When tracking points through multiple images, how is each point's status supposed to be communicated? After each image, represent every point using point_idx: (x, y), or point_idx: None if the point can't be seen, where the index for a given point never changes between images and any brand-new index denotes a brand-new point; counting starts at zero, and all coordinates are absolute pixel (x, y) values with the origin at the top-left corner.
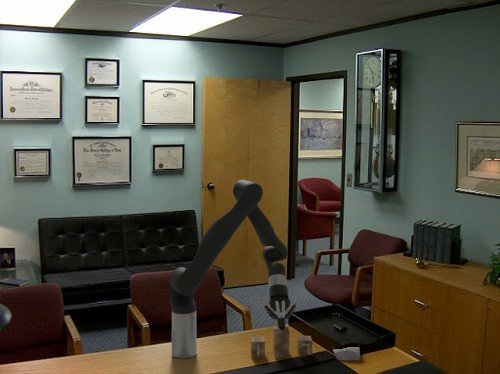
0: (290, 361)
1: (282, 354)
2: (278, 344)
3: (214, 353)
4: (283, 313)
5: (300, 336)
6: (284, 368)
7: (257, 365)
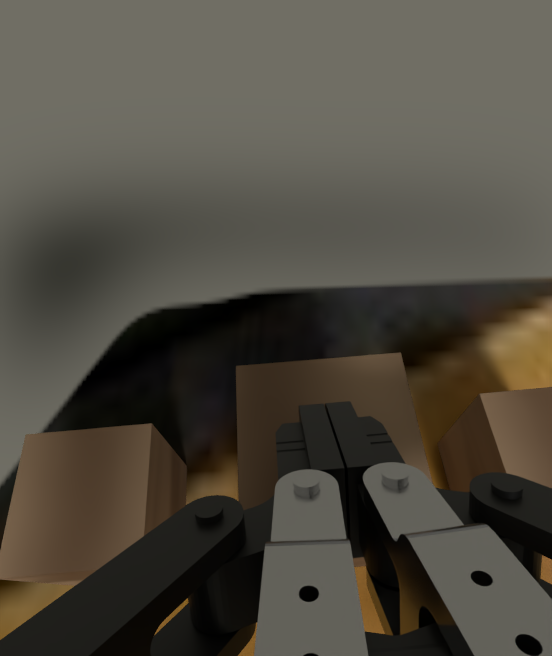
0: None
1: None
2: None
3: None
4: (304, 531)
5: (109, 552)
6: (297, 299)
7: (463, 329)
